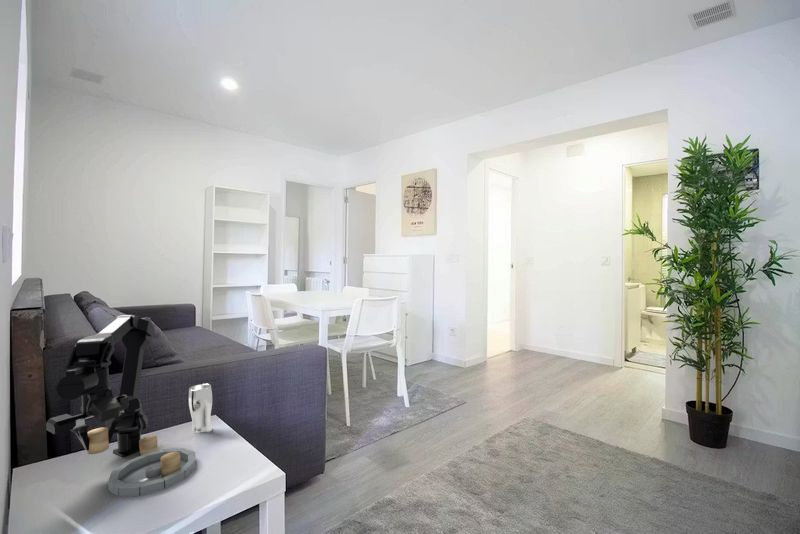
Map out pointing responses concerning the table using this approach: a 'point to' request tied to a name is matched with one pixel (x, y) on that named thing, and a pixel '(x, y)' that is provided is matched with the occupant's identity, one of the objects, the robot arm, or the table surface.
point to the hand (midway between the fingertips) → (98, 445)
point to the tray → (149, 473)
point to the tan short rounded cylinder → (170, 463)
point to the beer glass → (200, 407)
